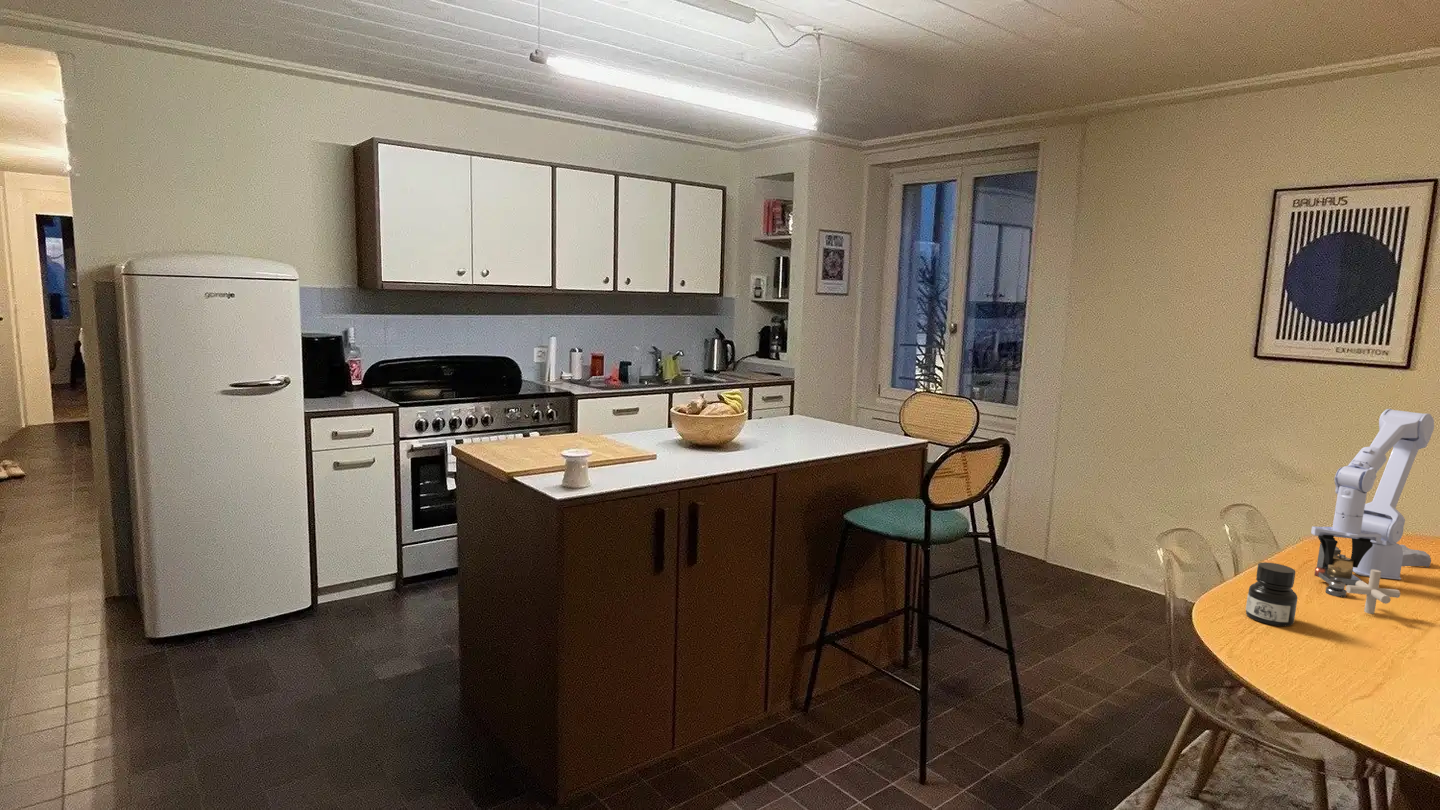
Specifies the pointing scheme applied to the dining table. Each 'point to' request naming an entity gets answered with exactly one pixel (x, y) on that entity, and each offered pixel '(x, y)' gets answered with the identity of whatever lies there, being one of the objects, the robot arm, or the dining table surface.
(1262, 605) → the ink bottle
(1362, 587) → the pipe connector
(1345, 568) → the housing
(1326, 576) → the lever
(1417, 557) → the stone block
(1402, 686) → the dining table surface
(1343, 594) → the lever base
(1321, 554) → the press
